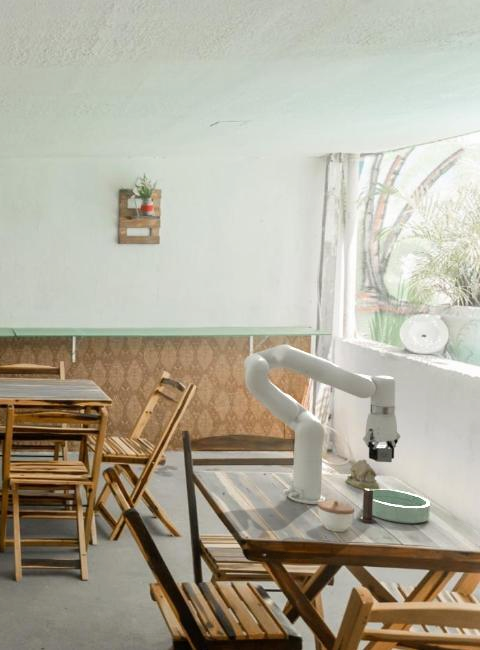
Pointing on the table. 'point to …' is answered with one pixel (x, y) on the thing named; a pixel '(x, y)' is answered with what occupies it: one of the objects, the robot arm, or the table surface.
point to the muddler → (367, 507)
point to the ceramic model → (362, 476)
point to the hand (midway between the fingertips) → (381, 458)
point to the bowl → (399, 506)
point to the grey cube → (384, 453)
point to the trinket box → (335, 514)
